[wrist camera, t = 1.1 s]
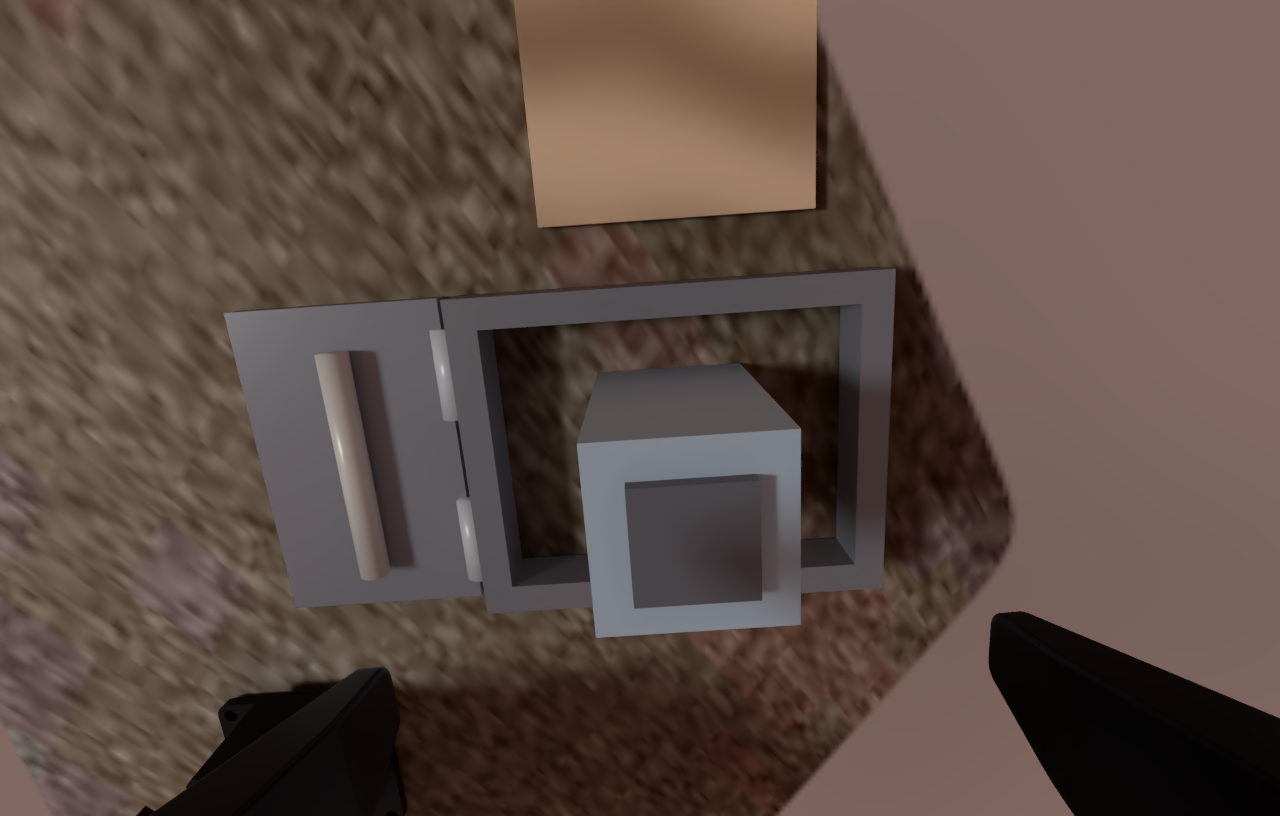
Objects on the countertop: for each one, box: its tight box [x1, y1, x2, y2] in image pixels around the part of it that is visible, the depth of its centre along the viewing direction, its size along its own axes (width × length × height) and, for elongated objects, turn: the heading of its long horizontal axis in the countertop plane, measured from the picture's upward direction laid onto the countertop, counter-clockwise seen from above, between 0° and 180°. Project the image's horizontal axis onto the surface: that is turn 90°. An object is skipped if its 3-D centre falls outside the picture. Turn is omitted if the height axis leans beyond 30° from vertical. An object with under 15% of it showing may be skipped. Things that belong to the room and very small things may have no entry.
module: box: [577, 363, 801, 638], centre depth 18 cm, size 5×5×8 cm
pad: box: [514, 0, 817, 228], centre depth 18 cm, size 9×9×1 cm
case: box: [224, 267, 896, 614], centre depth 21 cm, size 11×22×2 cm, turn 94°
